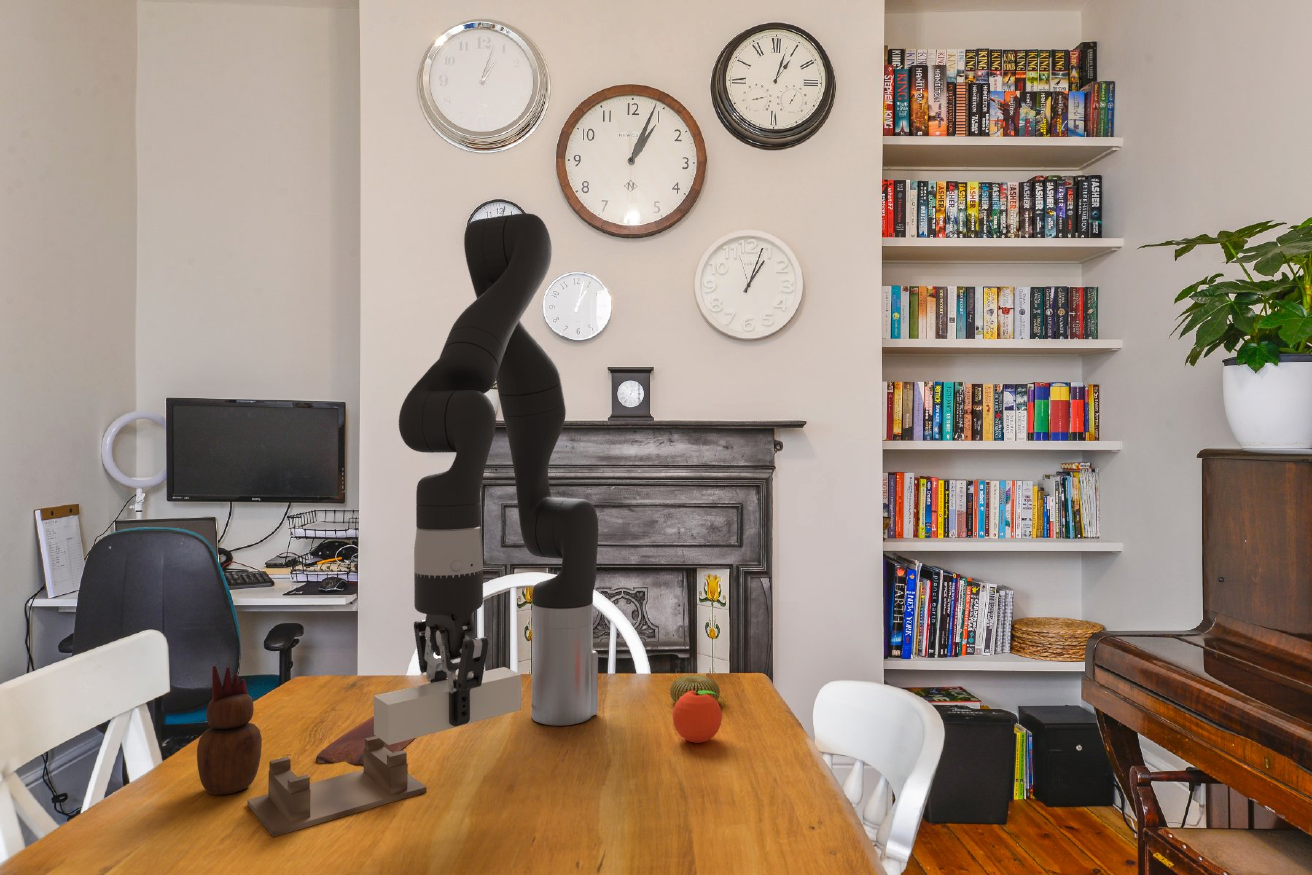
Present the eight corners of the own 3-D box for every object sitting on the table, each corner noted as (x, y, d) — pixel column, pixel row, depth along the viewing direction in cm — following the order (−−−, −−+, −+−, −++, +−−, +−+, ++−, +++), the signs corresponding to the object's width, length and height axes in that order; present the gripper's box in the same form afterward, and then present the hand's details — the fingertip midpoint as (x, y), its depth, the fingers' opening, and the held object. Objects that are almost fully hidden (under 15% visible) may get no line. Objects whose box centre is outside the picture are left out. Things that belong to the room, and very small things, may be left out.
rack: (392, 766, 102) (392, 728, 102) (426, 791, 94) (426, 751, 94) (247, 804, 91) (247, 762, 91) (272, 836, 83) (273, 790, 83)
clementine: (714, 729, 116) (714, 680, 116) (737, 744, 110) (737, 693, 110) (664, 736, 113) (664, 686, 113) (685, 753, 107) (685, 700, 107)
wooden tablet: (384, 771, 102) (384, 758, 102) (309, 768, 103) (310, 755, 103) (456, 705, 128) (456, 694, 128) (396, 702, 129) (396, 692, 129)
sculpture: (725, 675, 130) (711, 688, 123) (725, 699, 130) (711, 714, 123) (679, 670, 133) (663, 683, 125) (679, 694, 133) (663, 708, 125)
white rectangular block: (504, 701, 96) (504, 666, 96) (521, 709, 93) (521, 674, 93) (373, 734, 86) (373, 695, 86) (388, 744, 83) (388, 704, 83)
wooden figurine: (195, 804, 91) (197, 672, 91) (197, 785, 96) (199, 660, 96) (261, 792, 94) (263, 665, 94) (260, 775, 99) (262, 654, 99)
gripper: (510, 570, 87) (511, 727, 87) (450, 556, 98) (450, 696, 98) (447, 579, 82) (448, 745, 82) (390, 563, 93) (391, 710, 93)
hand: (449, 717), depth 90 cm, fingers closed on white rectangular block, 4 cm apart
